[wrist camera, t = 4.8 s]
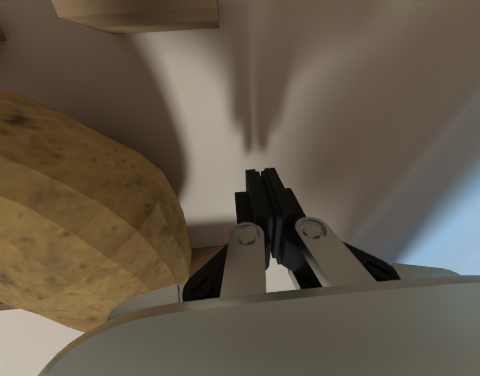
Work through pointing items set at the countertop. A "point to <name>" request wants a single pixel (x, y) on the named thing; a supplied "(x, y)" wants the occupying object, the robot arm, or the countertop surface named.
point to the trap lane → (137, 21)
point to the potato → (81, 218)
